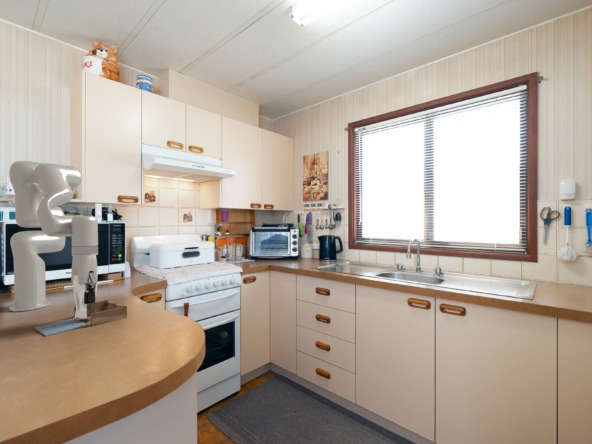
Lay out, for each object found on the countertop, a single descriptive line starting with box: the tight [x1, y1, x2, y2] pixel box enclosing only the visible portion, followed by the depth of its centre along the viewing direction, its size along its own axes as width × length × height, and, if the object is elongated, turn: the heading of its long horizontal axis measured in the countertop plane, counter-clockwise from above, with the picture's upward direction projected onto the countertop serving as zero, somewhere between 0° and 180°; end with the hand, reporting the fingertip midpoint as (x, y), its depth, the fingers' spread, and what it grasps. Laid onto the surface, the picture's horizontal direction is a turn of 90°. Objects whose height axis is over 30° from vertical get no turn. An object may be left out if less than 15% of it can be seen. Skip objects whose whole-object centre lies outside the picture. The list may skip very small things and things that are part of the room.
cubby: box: [73, 299, 128, 327], centre depth 106 cm, size 16×11×4 cm
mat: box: [33, 317, 89, 337], centre depth 96 cm, size 12×11×1 cm
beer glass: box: [72, 274, 98, 320], centre depth 102 cm, size 7×7×15 cm
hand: (85, 301), depth 102 cm, fingers closed on beer glass, 6 cm apart
